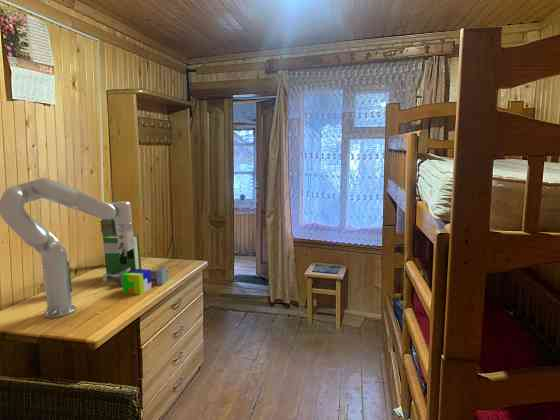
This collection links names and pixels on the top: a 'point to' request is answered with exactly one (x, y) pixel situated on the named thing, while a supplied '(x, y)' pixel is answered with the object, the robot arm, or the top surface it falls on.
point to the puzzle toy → (136, 281)
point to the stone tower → (108, 227)
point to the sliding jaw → (108, 274)
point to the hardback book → (113, 255)
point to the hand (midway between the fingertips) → (127, 261)
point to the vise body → (154, 275)
